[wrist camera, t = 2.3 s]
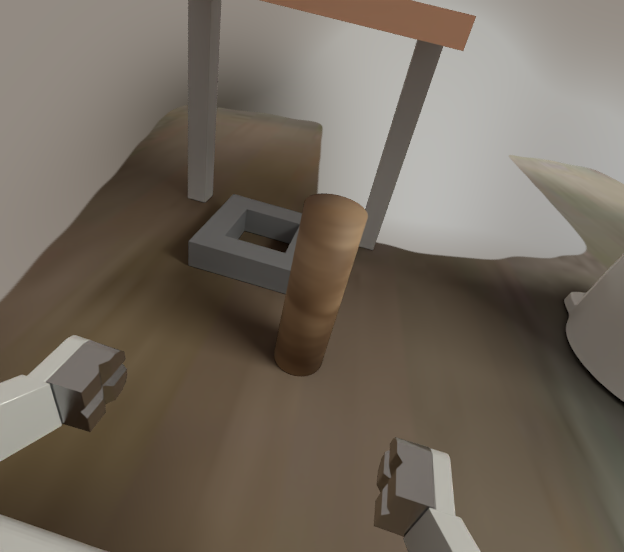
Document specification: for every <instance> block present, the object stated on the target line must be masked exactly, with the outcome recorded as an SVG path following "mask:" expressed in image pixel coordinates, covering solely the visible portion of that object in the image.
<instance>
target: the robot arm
mask: <svg viewBox="0 0 624 552" xmlns="http://www.w3.org/2000/svg"><path fill="white" fill-rule="evenodd" d="M564 303H565V306H566V308H567V310H568V313H569V319H568V321H567V324H566V334H567V338H568V341H569V343H570V345H571V347H572V349H573V351H574V352H575V354H576V356H577V357H578V358H579V360H580V361H581V362H582V364H583V365H584V366H585V367H586V368H587V369H588V371H589V372H590V373H591V374H592V375H593V376H594V377H595V378H596V379H597V380H598V381H599V382H600V383H601V384H602V385H604V386H605V387H606V388H607V389H608V390H609V391H611V392H612V393H613V394H614V395H615V396H617V397H618V398H619V399H621V400H622V401H623V402H624V254H623V255H622V256H621V257H620V258H619V259H618V260H617V261H616V262H615V263H614V264H613V265H612V266H611V267H610V268H609V269H608V270H607V271H606V272H605V273H604V275H603V276H602V277H601V278H600V279H599V280H598V281H597V282H596V283H595V284H594V285H593V286H592V287H591V288H590V289H589V291H588V292H587V293H583V292H571V293H570V294H569V295H568V296H567V297H566V298H565V299H564ZM125 359H126V358H125V352H124V351H121V350H118V349H115V348H112V347H109V346H106V345H103V344H100V343H97V342H94V341H92V340H89V339H85V338H82V337H79V336H76V335H73V336H71V337H69V338H67V339H66V340H65V341H64V342H63V343H62V344H61V345H59V346H58V347H57V348H56V349H55V350H54V351H53V352H52V353H51V354H50V355H49V356H48V357H47V358H46V359H45V360H43V361H42V362H41V363H40V364H39V365H38V366H37V367H36V368H35V369H34V370H33V371H32V372H31V373H30V374H29V375H27V376H25V375H20V376H17V377H15V378H12V379H9V380H7V381H4V382H2V383H0V461H2V460H3V459H5V458H7V457H9V456H10V455H12V454H14V453H16V452H17V451H19V450H21V449H22V448H24V447H26V446H28V445H29V444H31V443H33V442H34V441H36V440H38V439H40V438H41V437H43V436H45V435H46V434H48V433H50V432H52V431H53V430H55V429H57V428H58V427H60V426H62V424H65V425H68V426H72V427H75V428H78V429H82V430H85V431H88V432H91V431H92V429H93V428H94V427H95V426H96V424H97V423H98V422H99V420H100V419H101V418H102V416H103V415H104V414H105V413H106V404H107V403H109V402H112V401H114V400H116V398H117V397H118V395H119V394H120V393H121V391H122V389H123V387H124V385H125V383H126V379H127V369H126V368H125V366H124V365H123V364H122V363H123V362H124V361H125ZM377 486H378V488H379V490H380V492H381V493H380V494H379V496H378V498H377V499H376V501H375V515H374V526H375V527H378V528H381V529H384V530H386V531H389V532H392V533H395V534H397V535H400V536H403V537H404V538H403V539H404V542H405V545H406V547H407V550H408V552H480V550H479V548H478V546H477V545H476V543H475V541H474V540H473V538H472V536H471V534H470V533H469V531H468V529H467V528H466V526H465V524H464V523H463V521H462V519H461V518H460V517H457V516H455V507H454V496H453V485H452V474H451V463H450V457H449V455H448V454H447V453H444V452H441V451H437V450H434V449H431V448H429V447H426V446H423V445H420V444H416V443H413V442H410V441H406V440H403V439H400V438H396V437H395V438H393V440H392V441H391V443H390V451H386V452H385V453H384V455H383V457H382V459H381V462H380V465H379V469H378V475H377ZM0 552H108V551H105V550H102V549H99V548H96V547H93V546H90V545H88V544H85V543H82V542H79V541H76V540H73V539H70V538H67V537H65V536H62V535H59V534H56V533H53V532H50V531H47V530H44V529H42V528H39V527H36V526H33V525H30V524H27V523H24V522H21V521H18V520H16V519H13V518H10V517H7V516H4V515H1V514H0Z"/></svg>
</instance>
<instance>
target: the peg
mask: <svg viewBox="0 0 624 552" xmlns="http://www.w3.org/2000/svg"><path fill="white" fill-rule="evenodd" d="M367 219H368V214H367V212H366V210H365V209H364V208H363V207H362V206H361V205H359V204H358V203H356V202H355V201H353V200H351V199H348V198H346V197H342V196H339V195H333V194H315V195H311V196H309V197H308V198H306V200H305V202H304V206H303V211H302V216H301V221H300V226H299V231H298V236H297V241H296V246H295V251H294V256H293V261H292V266H291V271H290V276H289V281H288V286H287V291H286V296H285V301H284V306H283V311H282V316H281V321H280V326H279V331H278V336H277V341H276V346H275V351H274V358H275V361H276V363H277V365H278V366H279V367H280V368H281V369H282V370H283V371H285V372H286V373H289V374H291V375H295V376H308V375H311V374H313V373H315V372H316V371H317V370H318V369H319V368H320V366H321V364H322V361H323V358H324V354H325V351H326V348H327V345H328V342H329V339H330V335H331V332H332V329H333V326H334V323H335V320H336V316H337V313H338V310H339V307H340V304H341V301H342V298H343V294H344V291H345V288H346V285H347V282H348V279H349V275H350V272H351V269H352V266H353V263H354V260H355V256H356V253H357V250H358V247H359V244H360V241H361V237H362V234H363V231H364V228H365V225H366V222H367Z"/></svg>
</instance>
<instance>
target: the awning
mask: <svg viewBox="0 0 624 552" xmlns="http://www.w3.org/2000/svg"><path fill="white" fill-rule="evenodd" d="M261 1H265V2H269V3H273V4H277V5H281V6H285V7H289V8H293V9H297V10H301V11H305V12H309V13H313V14H317V15H321V16H325V17H329V18H333V19H337V20H341V21H345V22H349V23H353V24H357V25H361V26H365V27H369V28H373V29H377V30H382V31H385V32H390V33H393V34H397V35H402V36H405V37H409V38H413V39H417V43H416V46H415V49H414V53H413V56H412V59H411V62H410V66H409V69H408V72H407V76H406V79H405V82H404V85H403V89H402V92H401V95H400V98H399V102H398V105H397V108H396V111H395V114H394V118H393V121H392V124H391V127H390V131H389V134H388V137H387V140H386V144H385V147H384V150H383V154H382V157H381V160H380V163H379V166H378V170H377V173H376V176H375V179H374V183H373V186H372V189H371V192H370V196H369V199H368V202H367V206H366V209H365V210H366V212H367V214H368V219H367V222H366V225H365V228H364V231H363V234H362V237H361V241H360V244H359V246H360V247H363V248H367V249H370V250H373V248H374V246H375V243H376V240H377V237H378V234H379V231H380V228H381V225H382V222H383V219H384V216H385V214H386V210H387V208H388V205H389V202H390V199H391V196H392V193H393V190H394V188H395V185H396V182H397V179H398V176H399V173H400V170H401V167H402V164H403V161H404V159H405V156H406V153H407V150H408V147H409V144H410V141H411V138H412V135H413V132H414V130H415V127H416V124H417V121H418V118H419V114H420V112H421V109H422V106H423V103H424V101H425V98H426V95H427V92H428V89H429V86H430V83H431V80H432V77H433V74H434V71H435V69H436V66H437V63H438V60H439V57H440V54H441V51H442V48H443V46H445V47H449V48H453V49H457V50H461V51H463V50H464V48H465V45H466V42H467V39H468V37H469V34H470V31H471V29H472V26H473V23H474V21H475V18H476V16H473V15H469V14H465V13H461V12H457V11H453V10H449V9H444V8H440V7H436V6H432V5H428V4H424V3H420V2H416V1H412V0H261ZM188 5H189V6H188V198H190V199H194V200H197V201H201V202H206V201H207V200H208V199H209V198H211V197H212V196H213V176H214V153H215V130H216V108H217V83H218V62H219V39H220V16H221V0H188ZM301 216H302V213H299V212H296V211H292V210H289V209H285V208H281V207H278V206H274V205H271V204H267V203H264V202H260V201H257V200H253V199H249V198H246V197H242V196H239V195H235V194H233V195H232V196H231V197H230V198H229V199H228V200H227V201H226V202H225V203H224V205H223V206H222V207H221V208H220V209H219V210H218V211H217V212H216V213H215V214H214V215H213V216H212V217H211V218H210V219H209V220H208V221H207V222H206V223H205V224H204V225H203V227H202V228H201V229H200V230H199V231H198V232H197V233H196V234H195V235H194V236H193V237H192V238H191V239H190V240H189V243H188V265H189V266H193V267H196V268H199V269H203V270H206V271H209V272H213V273H216V274H220V275H223V276H226V277H230V278H233V279H237V280H240V281H243V282H247V283H250V284H254V285H257V286H260V287H264V288H267V289H271V290H274V291H277V292H281V293H284V294H286V291H287V286H288V281H289V276H290V271H291V266H292V261H293V256H294V251H295V246H296V241H297V236H298V231H299V226H300V221H301ZM244 231H247V232H251V233H254V234H258V235H261V236H265V237H268V238H272V239H275V240H279V241H282V242H286V243H289V244H290V245H289V247H288V249H287V251H286V253H283V252H280V251H276V250H273V249H269V248H266V247H263V246H259V245H256V244H252V243H249V242H245V241H242V240H238V239H239V237H240V236H241V235H242V233H243V232H244Z"/></svg>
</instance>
